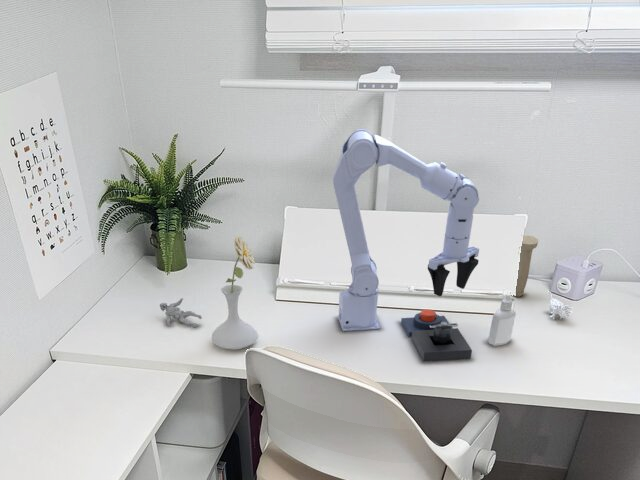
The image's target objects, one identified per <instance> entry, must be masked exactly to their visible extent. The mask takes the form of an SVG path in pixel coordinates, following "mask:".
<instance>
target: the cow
mask: <svg viewBox="0 0 640 480" xmlns="http://www.w3.org/2000/svg"><path fill="white" fill-rule="evenodd" d="M549 293H550V297H551V299H550V300H549V307H550V308H549V311H548V314H551V315H550V316H549V318H552V320H555V319H556V318H555V317H556V315H559V316H560V317H559V320H562V318H566V317H571V315H570V314H571V313H572V311H570V310H572V309H573V306H572V304H571V303H570V304H564V303H563V302H562V301H560V300H559V299H557V298H553V294H552V291H551V290H549Z"/></svg>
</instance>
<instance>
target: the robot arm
mask: <svg viewBox="0 0 640 480" xmlns="http://www.w3.org/2000/svg"><path fill="white" fill-rule="evenodd" d="M375 164H376V168H379V167H383V166H385V165H391V166H392V167H395V168H397V169H398V170H401V171H403V172H405V173H407V174H409V175H410V176H412V177H415V178H417V179H419V183H420V186H421V188H422V189H423V190H426V191H427V192H429V193H431V194H433V195H435V196H436V197H438V198H440V199H441V200H443V201H447V202H449V207H448V213H447V218H446V225H445V233H444V238H443V239H444V240H443V245H442V246H443V247H442V252H440V253H438V254H437V255H435V256H434V257H433V258H429V260H428V264H427V270H428V273H429V275H430V278H431V282H432V287H433V289H432V290H433V294H434V295H435V296H438V297H442V296H443V294H444V289H445V284H446V281H447V278H448V276H449V274H450V272H451V271H450V270H448V269H446V265H447V266H448V265H450V264H453V263H456V268H457V269H456V270H457V272H456V283H455V285H456V287H457V288H460V289H462V290H464V289H465V288H466V285H467V283H468V281H469V279H470V276H471V275H472V273H473V271H474V270H475V269H476V268H477V266H478V265H479V259H478V257H479V254H480V253H479V252H480V248H478V247H476V246H469V245H470V239H471V234H472V226H473V220H474V211H475V208H476V207H477V205H478V204H479V202H480V197H479V190H478V189H477V187H476V185H475V184H474V182H473V181H472V180H470V179H469V177H468V176H465V175H464V174H462V173H459V174H457V173H456V172H453V171H452V170H450V169H449V168H447V164H446V163H444V162H443V161H441V162H440V163H438V162H436V161H434V162H431V163H425V162H424V161H422V160H420V159H419V158H417V157H415V156H414V155H412V154H411V153H409V152H408V151H406V150H404V149H403V148H401V147H400V146H397V145H396V144H395V143H393V142H391V141H390V140H388V139H386V138H384V137H382V136H380V135H378V134H374V135H373V134H372V133H371V132H370V131H369V130H366V129H363V128H361V129H357V130H354V131H353V132H351V134H350V135H349V136H348V137H347V139H346V141H344V143H343V144H342V147H341V151H340V154H339V157H338V160H337V163H336V166H335V169H334V173H333V175H332V183H333V184H332V185H333V188H334V194H335V197H336V201H337V205H338V210H339V213H340V219H341V222H342V227H343V231H344V235H345V239H346V244H347V249H348V253H349V257H350V263H351V266H350V273H351V278H352V279H351V280H352V281H351V283H350V285H349V286H348V288H347V289H345V290H344V289H343V290H340V291H339V296H338V316H337V319H338V323H339V326H340V328H341V330H342V331H343V332H351V331H352V332H353V331H366V330H367V331H369V330H381V326H380V324H379V322H378V319H377V312H378V300H379V299H378V298H379V276H378V273H377V264H376V262H375V261H374V260H373V259H372V257H371V254H370V249H369V246H368V242H367V237H366V233H365V232H366V231H365V228H364V223H363V219H362V214H361V209H360V205H359V201H358V195H357V191H356V186H355V185H356V183H358V180H359V179H360V178H361V176H362V175H363V174H364V173H366V172H367V171H368V170H370V169H371V168H372V167H373V166H374V165H375Z"/></svg>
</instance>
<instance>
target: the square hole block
mask: <svg viewBox="0 0 640 480" xmlns="http://www.w3.org/2000/svg"><path fill="white" fill-rule="evenodd" d="M433 335H434V330H418V331H412V337H411V342H412V343H413V346H414V347H415V349H416V351H417V353H418V355H419V357H420V359H421V362H422V363H428V362H429V363H431V362H448V361H462V360H471V359H472V358H471V357H472V352H473V349H472V348H471V346H470V345H469V343H468V341H467V340H466V339H465V337H464V336H463V334H462V332H461V331H460V330H459V328H458V327H457V328H456V327H452V332H451V339H450V345H435V346H434V344H433V343H432V342H433Z"/></svg>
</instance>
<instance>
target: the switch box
mask: <svg viewBox="0 0 640 480" xmlns="http://www.w3.org/2000/svg"><path fill="white" fill-rule="evenodd" d="M420 316H421V312H418V313H416V314H415V315H414V316H413V317H401V319H400V323H401V326H402V328H403V330H404V332H405V333H406V336H407V337H408V338H412V331H418V330H434V328H430V325H436V324H437V323H441V322H447V323H448V324H450V322H449V321H448V320H447V318H446V316H445V315H439V314H437V313H436V315H435V320H434V321H432V322H426V321H422V320H421V319H420Z"/></svg>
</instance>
